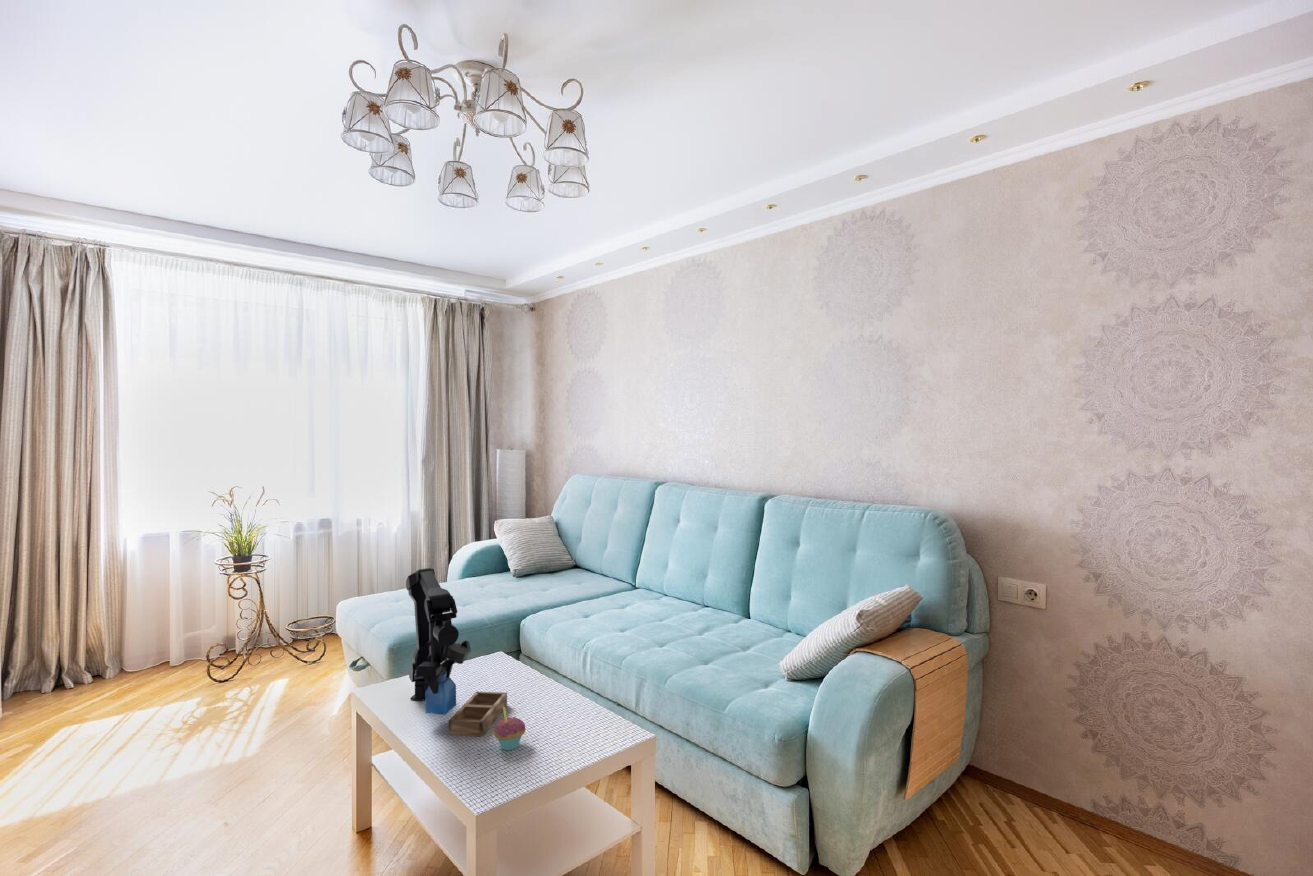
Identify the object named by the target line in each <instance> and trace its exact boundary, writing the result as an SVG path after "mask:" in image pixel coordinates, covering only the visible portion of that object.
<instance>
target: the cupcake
mask: <svg viewBox="0 0 1313 876" xmlns="http://www.w3.org/2000/svg"><path fill="white" fill-rule="evenodd" d="M502 713H503V719H501V720H500V721H498V722H497V723H496V724H495V725H494V726H493V727H494V728H493V736H494V738H495V739H497V740H498V741H499V746H500V748H501V749H502V750H504V751H512V750H515V749H517V748H518V747H519V746H520V742H521V738H522V736H523V735H525V733H526V730H527V729H526V724H525V722H524V721H523V720H522V719H520V718H518V717H508V716H507V710H506V707H504V705H503V711H502Z"/></svg>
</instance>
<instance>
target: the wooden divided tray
mask: <svg viewBox="0 0 1313 876" xmlns="http://www.w3.org/2000/svg"><path fill="white" fill-rule="evenodd" d="M503 705H504V707H505V708H506V707H507V706H508V692H503V691H502V692H501V691H500V692H498V691H497V692H496V691H475V692H474V694H473V695H471V697H469V699H468V700H467V701H466V702H464V704H463V705H462V706H461V707H460V708H459V709H458V710H457V711H456V712H455V713H454V714H453V715H452V717H451V718H449V720H447V721H448V736H464V737H465V736H466V737H468V736H469V737H483V736H484V735H485V734H486V733H485V732H487V731H488V730H489V729H490V728H491V726H492V725H493V724H494V723H495V722H496V720H497V719H498V718H499V716H500V715H501V714H502V713H503ZM506 705H507V706H506ZM499 714H500V715H499Z"/></svg>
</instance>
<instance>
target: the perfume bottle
mask: <svg viewBox="0 0 1313 876" xmlns="http://www.w3.org/2000/svg"><path fill="white" fill-rule="evenodd" d="M445 670H446V667H442V669H441V671H444V672H443V673H442V674H441V675H440V676H439V685H438V693H437V694H433V692H432V690H431V689H430V687H429V686H428V688H427V690H426V692H425V699H426V700H425V714H432V715H442V716H446V715H447V714H449V712H451V711H452V710H453V709H454V708H455V707H456V706H457V684H456V683H455V682H454V680H452V678H451V677H450V678H446V676H447V672H446V671H445Z"/></svg>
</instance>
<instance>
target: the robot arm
mask: <svg viewBox="0 0 1313 876" xmlns="http://www.w3.org/2000/svg"><path fill="white" fill-rule="evenodd" d="M405 587H406V590H407V592H408V593H407V594H408V596H409V597H410V598H411V600H412V601H413V604H414V617H415V619H414V621H415V622H414V623H415V638H416V640H415V641H416V648H415V651H414V652H413V655H412V656H411V660H412V661H411V663H410V666H409V669H408V678H409V680H410V681H411V683H414V694H413V695H412V696H410V700H412V701H413V700H414V701H426V699H425V692H426V690H427V688H428V686H429V687H430V689H431V690H432V692H433V694H437V693H438V685H439V676H440V675H441V674H442V673H443V672H444V671H441V669H442V667H446V670H445V671H446V672H447V676H446V678H451V677H450V676H451V673H452V670H453V667H454V666H453V665H454V664H455V663H456V664H458V665H461V664H463V663H464V662H465V661H467V660H468V656H469V654H470V653H471V651H472V650H471V649H472V648H471V644H470V643H471V642H470V641H468V640H466V639H465V640H463V641H462V642H461V643H460V642H458V643H456V642H457V641H458V639H459V635H460V634H459V629H458V628H457V627H456V626H455V625H454V624H453V623H452V619H457V617H458V616H457V613H458V608H457V604H456V600H455V598H454V596H453V595H452V594H451V593H450V592H449V590H448V589H446V588H442V587H441V584H440V583H439V581H438V580H437V577H436V572H435V569H434V568H432V567H427V568H419V569H417V570H416V571H415V572H414V573H412V574H410V575H408V576H407V577H406V580H405Z"/></svg>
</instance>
